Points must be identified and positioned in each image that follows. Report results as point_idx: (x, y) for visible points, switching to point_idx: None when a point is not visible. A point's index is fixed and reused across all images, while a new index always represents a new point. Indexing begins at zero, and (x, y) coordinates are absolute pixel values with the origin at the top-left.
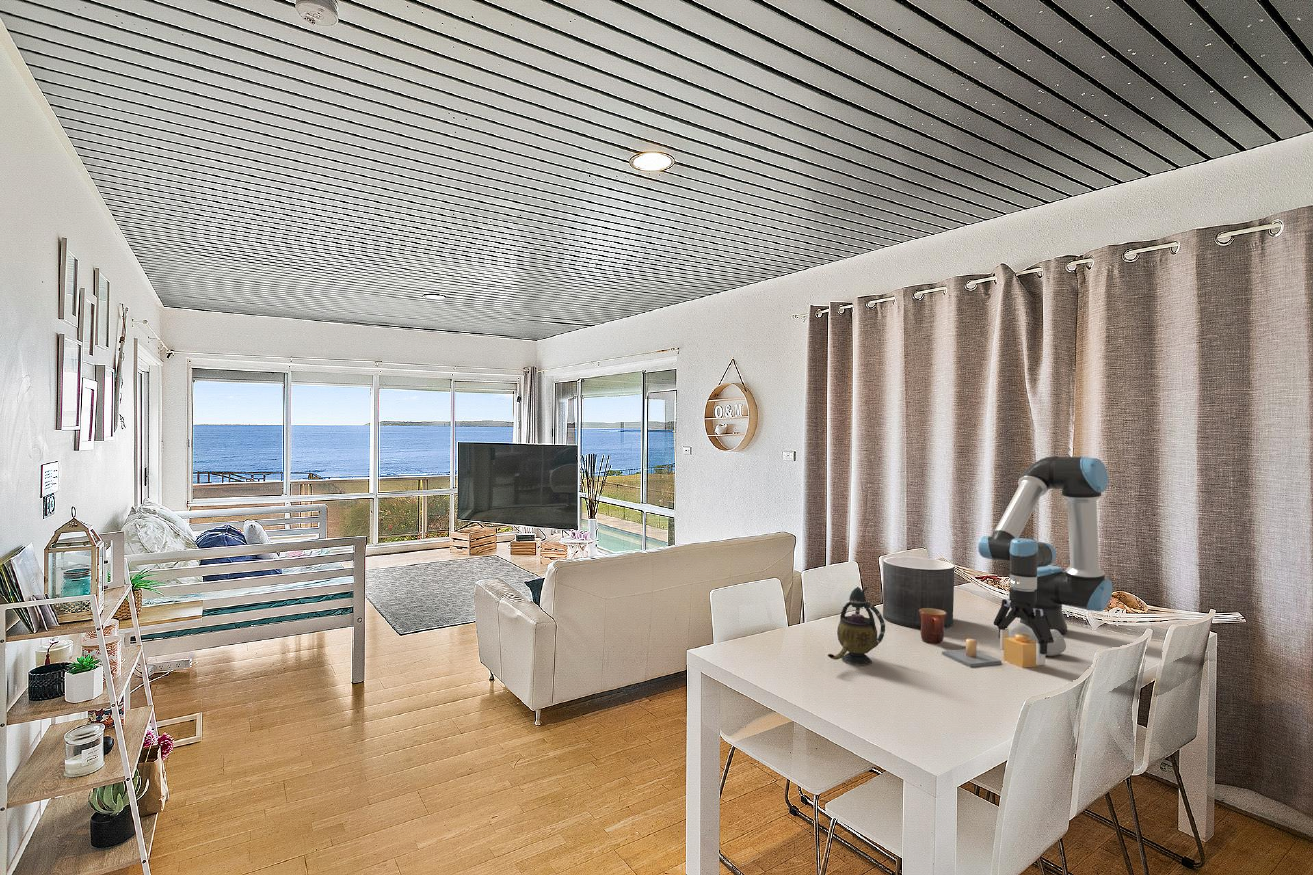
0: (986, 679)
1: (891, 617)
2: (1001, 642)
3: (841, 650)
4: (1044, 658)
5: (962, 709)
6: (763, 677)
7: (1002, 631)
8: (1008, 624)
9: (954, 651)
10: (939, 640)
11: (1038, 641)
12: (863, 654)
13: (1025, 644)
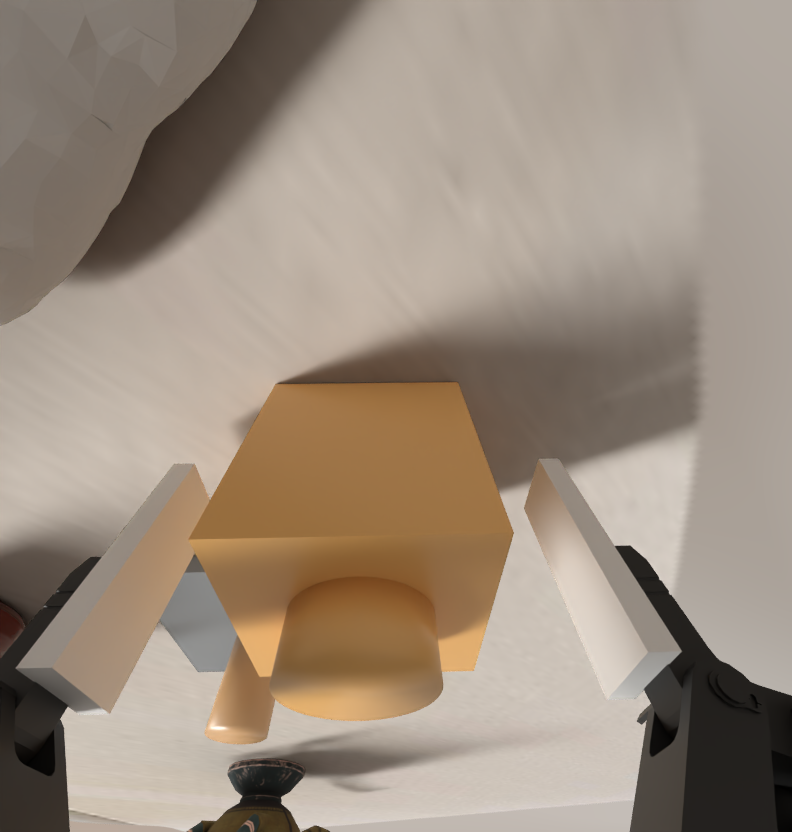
0: (487, 665)
1: None
2: (180, 568)
3: None
4: (576, 496)
5: (589, 746)
6: (336, 820)
7: (117, 690)
8: (15, 801)
9: (196, 645)
10: (9, 633)
11: (41, 58)
12: (277, 799)
13: (472, 652)
